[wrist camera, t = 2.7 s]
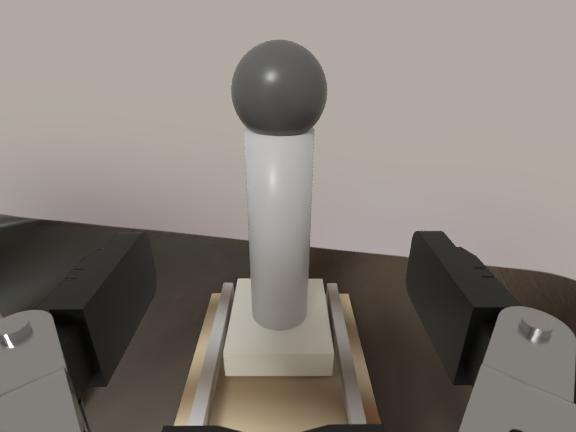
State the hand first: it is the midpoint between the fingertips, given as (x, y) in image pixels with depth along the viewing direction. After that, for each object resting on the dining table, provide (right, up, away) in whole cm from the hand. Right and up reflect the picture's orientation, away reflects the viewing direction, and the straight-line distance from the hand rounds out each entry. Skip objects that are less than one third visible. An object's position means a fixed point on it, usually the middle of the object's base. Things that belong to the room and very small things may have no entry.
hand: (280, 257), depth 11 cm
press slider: (0, -7, +16) cm, 18 cm away
